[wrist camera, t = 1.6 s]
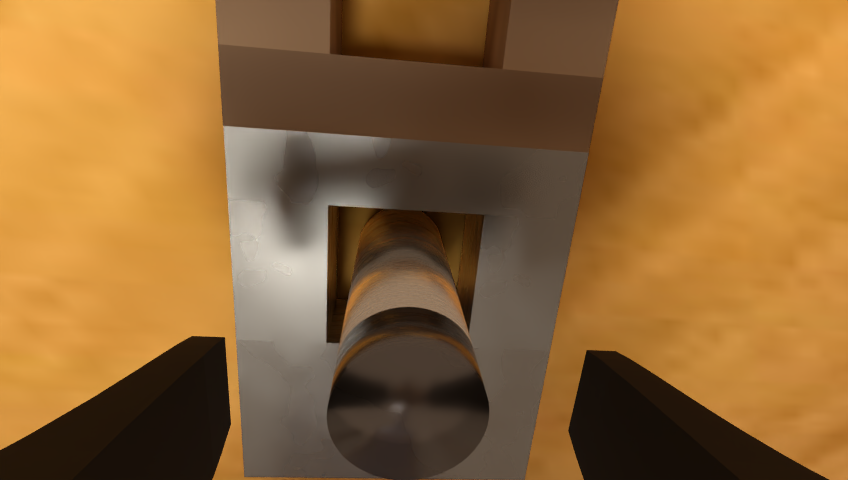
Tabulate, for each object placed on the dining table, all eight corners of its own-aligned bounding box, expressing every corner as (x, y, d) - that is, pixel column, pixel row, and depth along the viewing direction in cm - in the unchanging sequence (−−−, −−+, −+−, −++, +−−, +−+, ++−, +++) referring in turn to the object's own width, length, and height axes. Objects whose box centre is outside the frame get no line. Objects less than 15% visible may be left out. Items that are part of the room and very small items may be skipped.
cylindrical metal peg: (457, 233, 17) (521, 392, 9) (413, 297, 18) (432, 501, 9) (386, 190, 16) (380, 319, 8) (343, 259, 17) (297, 442, 9)
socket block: (505, 422, 20) (524, 479, 17) (265, 417, 19) (244, 476, 16) (554, 138, 16) (589, 152, 13) (254, 115, 15) (223, 125, 12)
